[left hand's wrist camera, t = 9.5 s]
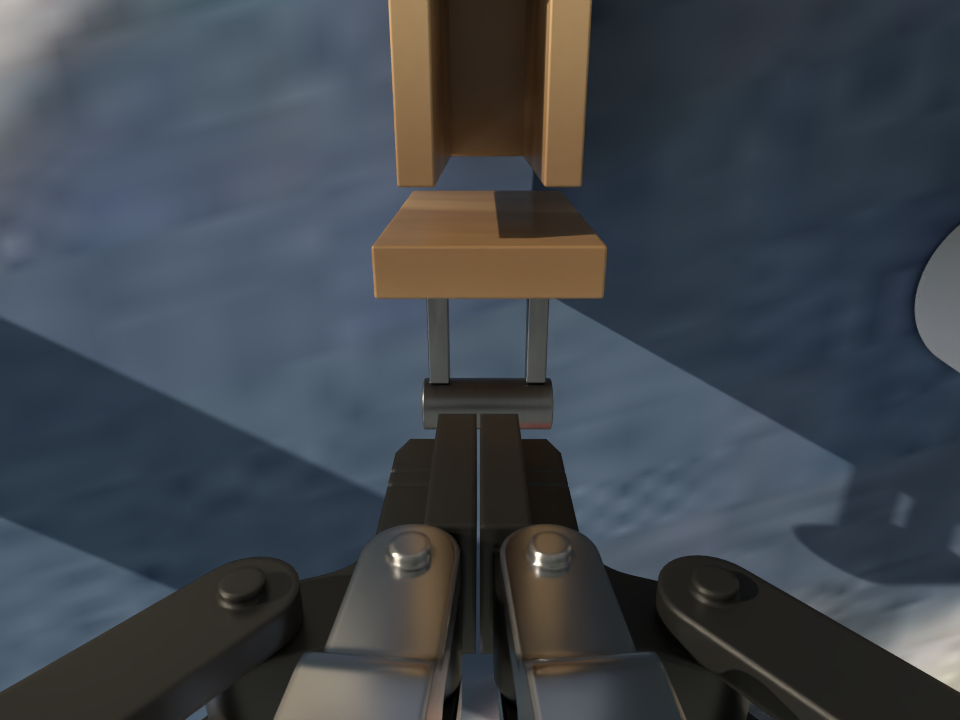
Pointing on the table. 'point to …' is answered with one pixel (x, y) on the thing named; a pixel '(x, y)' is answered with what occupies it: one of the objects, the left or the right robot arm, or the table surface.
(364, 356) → the table surface
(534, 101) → the drawer
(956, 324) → the coffee cup
